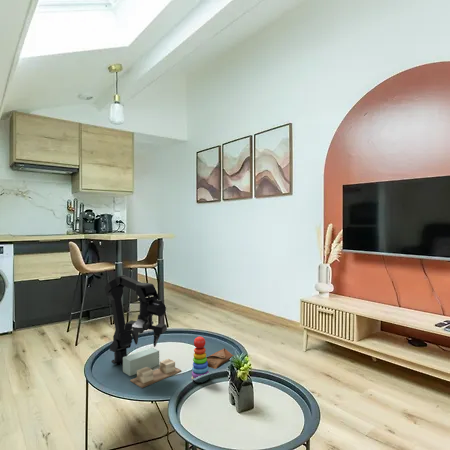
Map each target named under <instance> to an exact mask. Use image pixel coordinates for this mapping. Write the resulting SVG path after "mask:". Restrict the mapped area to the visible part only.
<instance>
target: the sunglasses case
mask: <svg viewBox="0 0 450 450" xmlns="http://www.w3.org/2000/svg"><path fill="white" fill-rule="evenodd" d="M232 356H234V354H232V353H231V352H230V351H229V350H227V349H226V348H225V347H224V348H222V349H220V350H218V351H216V352H214V353H212V354H210V355H209V356H206V358H207V362H208V365H207V366H208V368H210V369H214V370H217V369H218V368H219V367H221V366H222V365H224V364H226V363H227V362H229V361H230V360H229V359H230V358H231V357H232Z"/></svg>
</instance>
